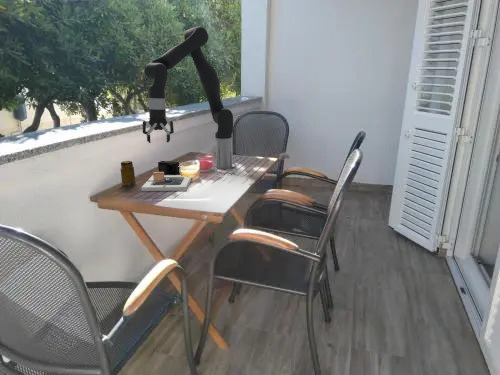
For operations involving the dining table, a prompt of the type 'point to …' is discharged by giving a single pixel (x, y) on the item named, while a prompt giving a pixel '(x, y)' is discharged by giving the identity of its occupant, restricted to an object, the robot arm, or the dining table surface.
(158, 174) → the dial
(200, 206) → the dining table surface
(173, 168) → the digital camera
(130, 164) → the condiment
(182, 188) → the panel
